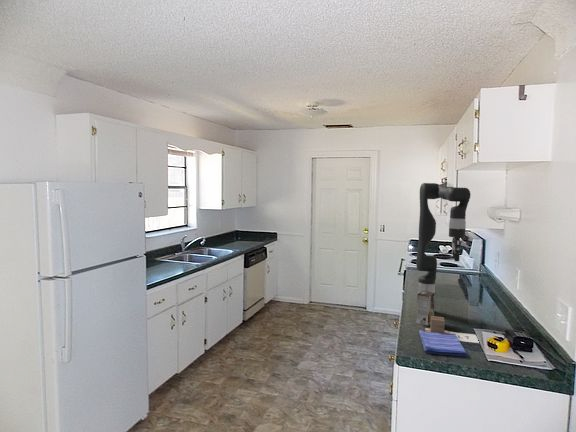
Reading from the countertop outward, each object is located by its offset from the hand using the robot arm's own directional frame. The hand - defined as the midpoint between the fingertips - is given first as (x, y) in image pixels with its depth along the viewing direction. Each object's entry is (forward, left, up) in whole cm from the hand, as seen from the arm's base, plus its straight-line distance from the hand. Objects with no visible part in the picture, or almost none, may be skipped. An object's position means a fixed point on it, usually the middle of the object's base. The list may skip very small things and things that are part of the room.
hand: (455, 259), depth 194 cm
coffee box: (-8, -13, -36) cm, 39 cm away
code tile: (+9, +4, -36) cm, 37 cm away
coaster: (+8, -8, -36) cm, 38 cm away
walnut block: (+8, -8, -35) cm, 37 cm away
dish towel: (+24, -7, -36) cm, 44 cm away
